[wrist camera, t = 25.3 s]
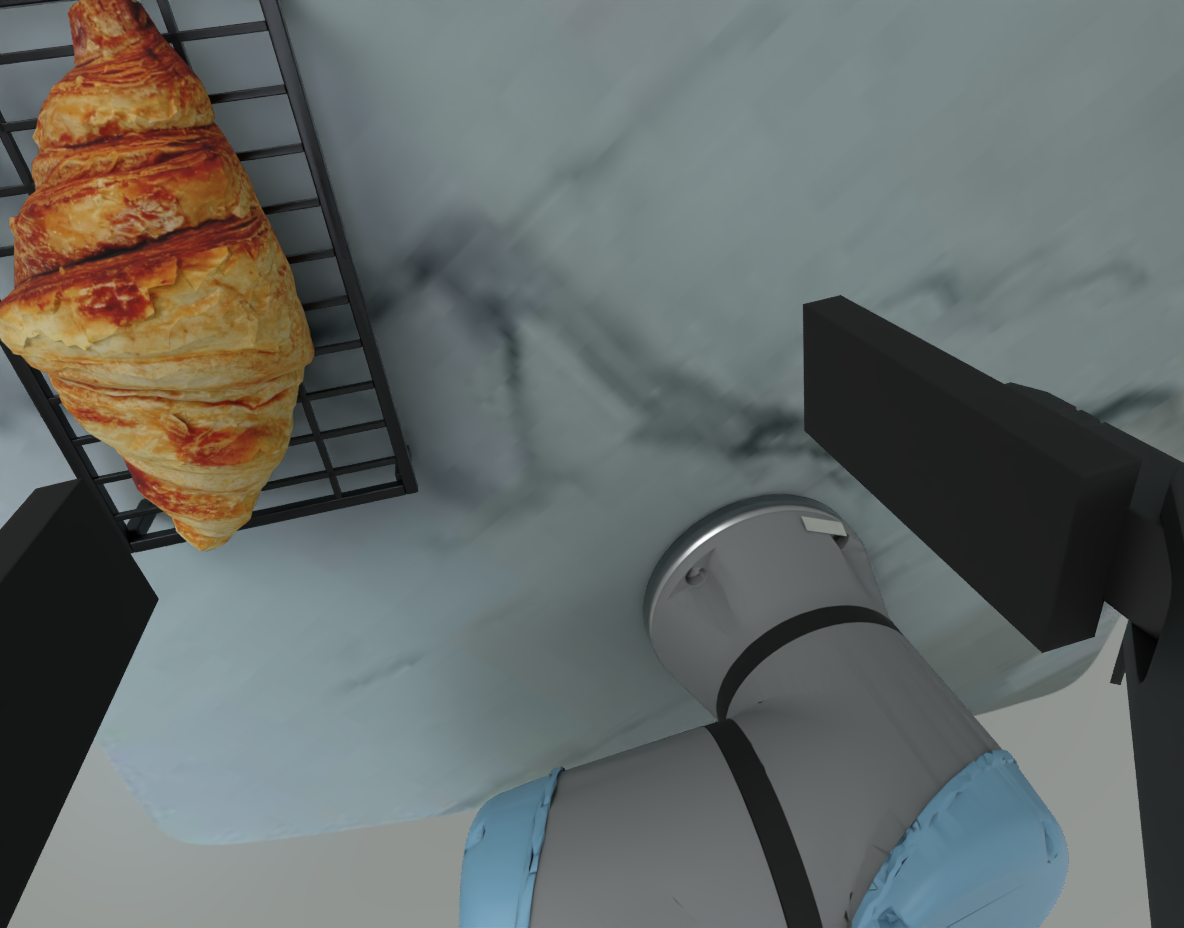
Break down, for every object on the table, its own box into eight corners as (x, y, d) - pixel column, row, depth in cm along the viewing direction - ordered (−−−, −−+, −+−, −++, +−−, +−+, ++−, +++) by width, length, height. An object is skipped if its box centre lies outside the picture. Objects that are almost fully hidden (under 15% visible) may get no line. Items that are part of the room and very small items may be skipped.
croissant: (297, 482, 38) (366, 561, 33) (68, 548, 32) (110, 656, 27) (231, 4, 27) (318, 12, 22) (-131, -33, 21) (-123, -33, 16)
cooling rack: (417, 458, 39) (418, 492, 36) (143, 515, 37) (121, 556, 34) (279, -36, 27) (264, -46, 24) (-127, 11, 26) (-196, 6, 23)
